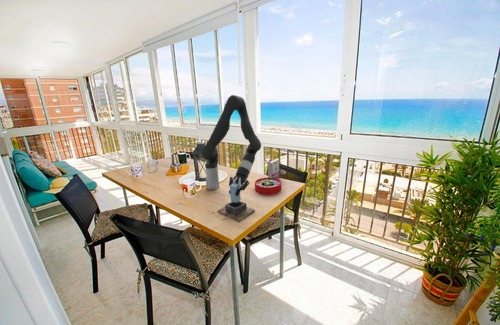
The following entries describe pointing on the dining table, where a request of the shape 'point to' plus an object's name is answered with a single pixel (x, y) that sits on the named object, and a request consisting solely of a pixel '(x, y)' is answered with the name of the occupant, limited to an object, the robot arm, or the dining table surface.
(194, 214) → the dining table surface
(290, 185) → the dining table surface
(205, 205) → the dining table surface
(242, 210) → the cradle jig
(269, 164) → the candy bar box
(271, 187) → the toy clock
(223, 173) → the dining table surface
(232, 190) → the light blue square peg
